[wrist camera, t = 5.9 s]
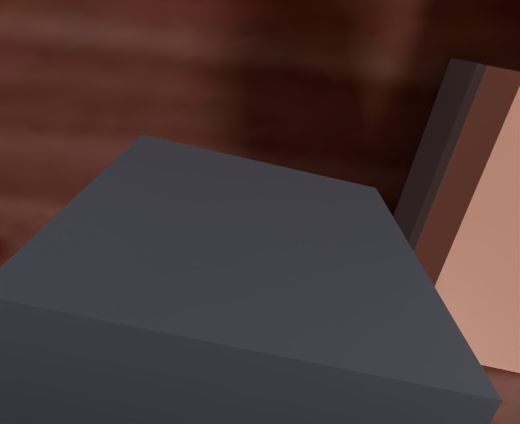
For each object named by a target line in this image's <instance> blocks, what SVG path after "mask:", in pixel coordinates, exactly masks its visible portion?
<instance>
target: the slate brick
mask: <svg viewBox="0 0 520 424" xmlns="http://www.w3.org/2000/svg"><path fill="white" fill-rule="evenodd" d="M501 402H502V400H501V398H500V396H499V395H498V393H497V391H496V390H495V388H494V386H493V385H492V383H491V381H490V380H489V378H488V376H487V375H486V373H485V371H484V369H483V368H482V366H481V364H480V363H479V361H478V359H477V358H476V356H475V354H474V353H473V351H472V349H471V348H470V346H469V344H468V342H467V341H466V339H465V337H464V336H463V334H462V332H461V331H460V329H459V327H458V326H457V324H456V322H455V321H454V319H453V317H452V315H451V314H450V312H449V310H448V309H447V307H446V305H445V304H444V302H443V300H442V299H441V297H440V295H439V294H438V292H437V290H436V288H435V287H434V285H433V283H432V282H431V280H430V278H429V277H428V275H427V273H426V272H425V270H424V268H423V267H422V265H421V263H420V261H419V260H418V258H417V256H416V255H415V253H414V251H413V250H412V248H411V246H410V245H409V243H408V241H407V240H406V238H405V236H404V234H403V233H402V231H401V229H400V228H399V226H398V224H397V223H396V221H395V219H394V218H393V216H392V214H391V213H390V211H389V209H388V207H387V206H386V204H385V202H384V201H383V199H382V197H381V196H380V194H379V192H378V191H377V189H376V188H374V187H370V186H365V185H361V184H356V183H352V182H348V181H343V180H339V179H335V178H330V177H326V176H321V175H317V174H313V173H308V172H304V171H300V170H295V169H291V168H286V167H282V166H278V165H273V164H269V163H265V162H260V161H256V160H251V159H247V158H243V157H238V156H234V155H230V154H225V153H221V152H217V151H212V150H208V149H203V148H199V147H195V146H190V145H186V144H182V143H177V142H173V141H168V140H164V139H160V138H155V137H151V136H147V135H141V136H140V137H139V138H137V139H136V140H135V141H134V142H133V143H132V144H131V145H130V146H129V147H128V148H127V149H126V150H125V151H124V152H123V153H122V154H120V155H119V156H118V157H117V158H116V159H115V160H114V161H113V162H112V163H111V164H110V165H109V166H108V167H107V168H106V169H105V170H103V171H102V172H101V173H100V174H99V175H98V176H97V177H96V178H95V179H94V180H93V181H92V182H91V183H90V184H89V185H88V186H86V187H85V188H84V189H83V190H82V191H81V192H80V193H79V194H78V195H77V196H76V197H75V198H74V199H73V200H72V201H71V202H69V203H68V204H67V205H66V206H65V207H64V208H63V209H62V210H61V211H60V212H59V213H58V214H57V215H56V216H55V217H54V218H52V219H51V220H50V221H49V222H48V223H47V224H46V225H45V226H44V227H43V228H42V229H41V230H40V231H39V232H38V233H37V234H35V235H34V236H33V237H32V238H31V239H30V240H29V241H28V242H27V243H26V244H25V245H24V246H23V247H22V248H21V249H20V250H18V251H17V252H16V253H15V254H14V255H13V256H12V257H11V258H10V259H9V260H8V261H7V262H6V263H5V264H4V265H3V266H1V267H0V424H489V423H490V421H491V420H492V418H493V416H494V414H495V412H496V411H497V409H498V407H499V405H500V404H501Z"/></svg>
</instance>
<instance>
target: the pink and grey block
mask: <svg viewBox="0 0 520 424" xmlns="http://www.w3.org/2000/svg"><path fill="white" fill-rule="evenodd" d="M393 218H394V219H395V221H396V223H397V224H398V226H399V228H400V229H401V231H402V233H403V234H404V236H405V238H406V240H407V241H408V243H409V245H410V246H411V248H412V250H413V251H414V253H415V255H416V256H417V258H418V260H419V261H420V263H421V265H422V267H423V268H424V270H425V272H426V273H427V275H428V277H429V278H430V280H431V282H432V283H433V285H434V287H435V288H436V290H437V292H438V294H439V295H440V297H441V299H442V300H443V302H444V304H445V305H446V307H447V309H448V310H449V312H450V314H451V315H452V317H453V319H454V321H455V322H456V324H457V326H458V327H459V329H460V331H461V332H462V334H463V336H464V337H465V339H466V341H467V342H468V344H469V346H470V348H471V349H472V351H473V353H474V354H475V356H476V358H477V359H478V361H479V363H480V364H481V365H485V366H490V367H494V368H499V369H504V370H508V371H513V372H518V373H520V72H518V71H513V70H508V69H503V68H498V67H493V66H488V65H484V64H480V63H476V62H471V61H466V60H461V59H456V58H451V59H450V61H449V64H448V67H447V70H446V72H445V75H444V78H443V81H442V83H441V86H440V89H439V92H438V94H437V97H436V100H435V103H434V105H433V108H432V111H431V114H430V116H429V119H428V122H427V125H426V127H425V130H424V133H423V136H422V138H421V141H420V144H419V147H418V149H417V152H416V155H415V158H414V160H413V163H412V166H411V169H410V171H409V174H408V177H407V180H406V182H405V185H404V188H403V191H402V193H401V196H400V199H399V202H398V204H397V207H396V210H395V213H394V215H393Z"/></svg>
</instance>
